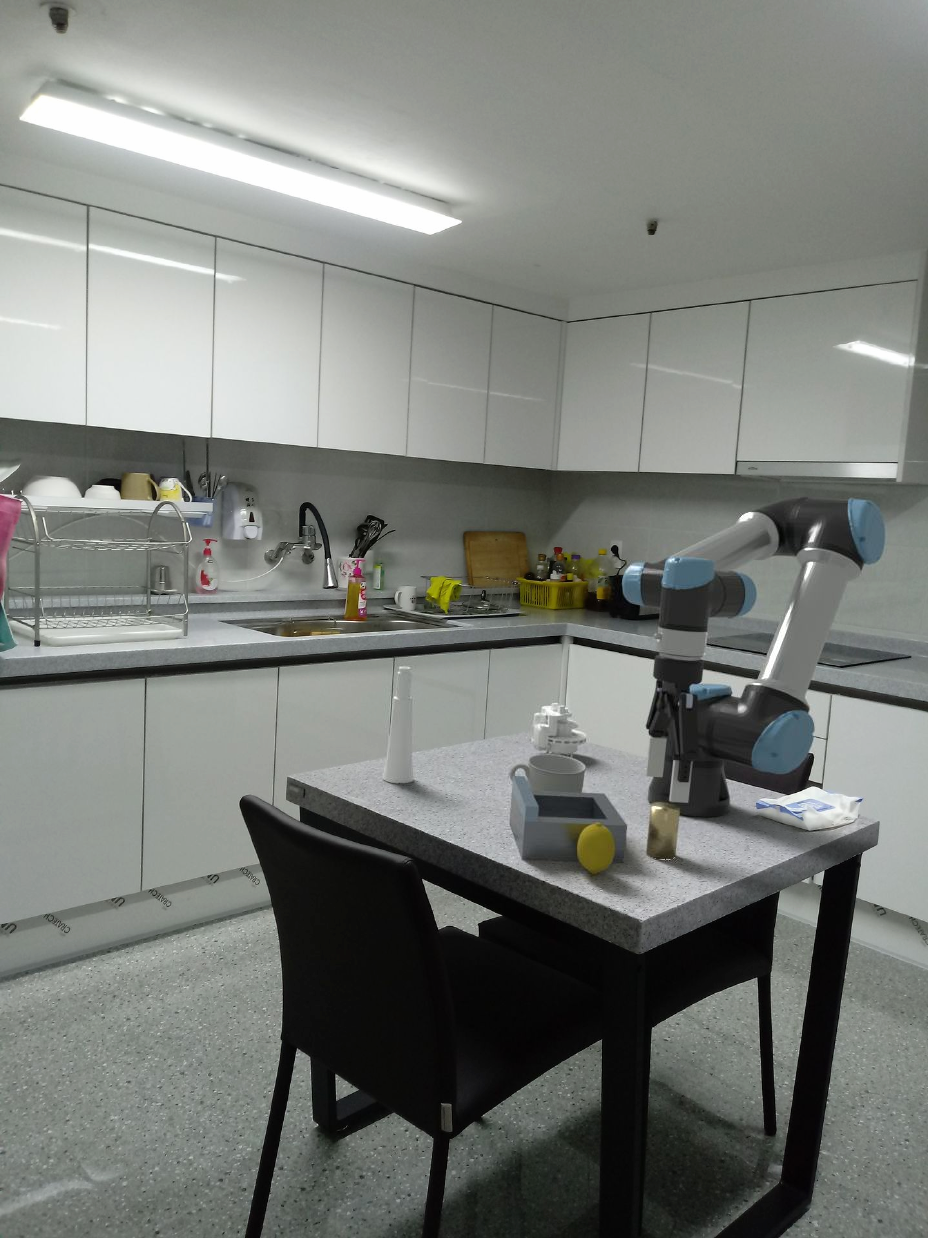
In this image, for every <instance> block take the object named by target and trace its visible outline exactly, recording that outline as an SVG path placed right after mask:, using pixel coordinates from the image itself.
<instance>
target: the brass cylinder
mask: <svg viewBox="0 0 928 1238" xmlns="http://www.w3.org/2000/svg"><path fill="white" fill-rule="evenodd" d="M680 815H681V814H680V807H678V806H677V805H674V804H670V803H665V802H655V803H652V804H651V803H650V810H649V817H648V818H649V819H648V828H647V829H648V831H647V839H646V841H647V843H646V851H645V854H646V856H648V855H649V856H650V857H649V856H648V857H649V858H651V857H653V858H656V859H655V860H657V859H665V860H666V859H673V858H674V857H675V858H676V853H677V846H678V845H677V844H678V834H679V824H680V823H679V822H680ZM653 858H652V859H653ZM673 860H674V859H673Z"/></svg>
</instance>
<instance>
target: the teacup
mask: <svg viewBox="0 0 928 1238" xmlns="http://www.w3.org/2000/svg"><path fill="white" fill-rule="evenodd" d="M586 768H587V767H586V764H584V763H583V762H582V761H580V760H579V759H576V758H574V757H573V758H570V756H567V755H562V754H560V755H558V754H555V753H554V754H552V753H549V754H546V753H545V754H544V753H542V754H535V755H531V756H530V757H528V759H527V764H526V763H524V762H520V761H519V762H515V763H514V764H512V765H511V767H510V769H509V772H508V773H509V774H508V775H509V779H510V780H511V782H513V776H516V771H517V770H518V769H522V770H523V771H524V773H525V774H524V776H525V778H526V780H527V783H528V785H529V787H530V789H531V790H534V791H557V792H580V793H583V787H584V779H585V773H586Z"/></svg>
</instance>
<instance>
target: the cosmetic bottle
mask: <svg viewBox="0 0 928 1238" xmlns="http://www.w3.org/2000/svg"><path fill="white" fill-rule="evenodd" d="M398 670H399V671H398V672H397V673H396V687H395V696H393V701H392V708H391V716H390V717H391V718H390V727H389V737H388V744H387V745H388V746H387V752H386V758H385V759H386V760H385V764H384V770H383V774H382V780H384V781H385V782H387V783H392V784H399V783H400V784H401V783H402V784H409V783H412V782H413V781H414V778H415V777H414V770H413V769H414V768H413V697H411V694H412V693H411V690H412V689H411V688H412V672H411V667H409V666H399V667H398Z"/></svg>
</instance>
